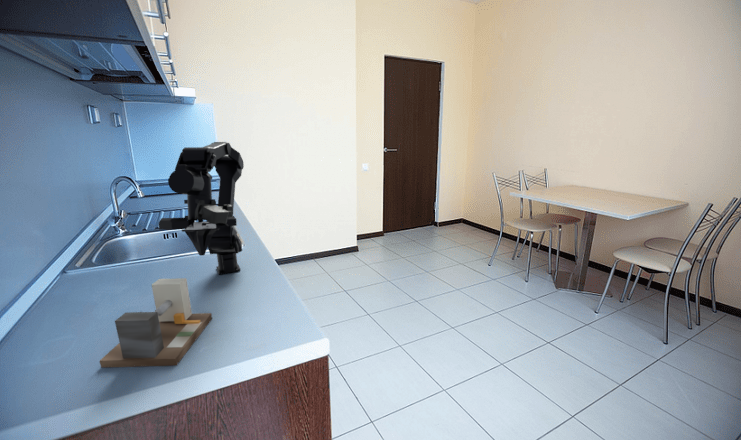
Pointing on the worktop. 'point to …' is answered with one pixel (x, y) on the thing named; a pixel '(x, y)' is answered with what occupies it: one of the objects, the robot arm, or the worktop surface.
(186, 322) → the drag pointer
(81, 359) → the worktop surface
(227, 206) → the robot arm
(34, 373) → the worktop surface
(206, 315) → the board
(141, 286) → the worktop surface
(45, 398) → the worktop surface
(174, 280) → the cream eraser-shaped block
